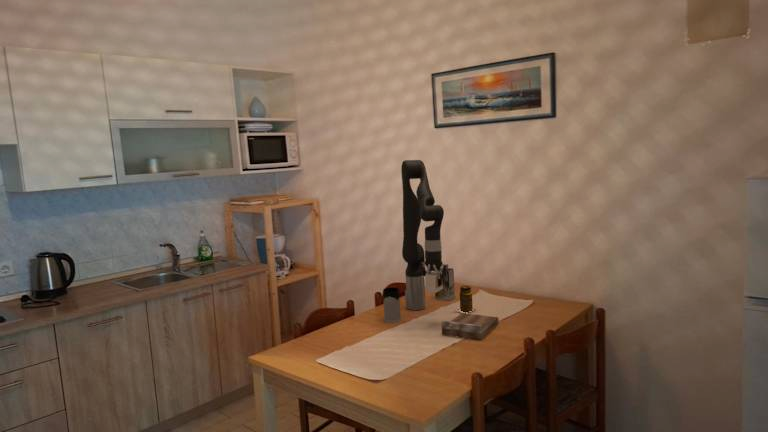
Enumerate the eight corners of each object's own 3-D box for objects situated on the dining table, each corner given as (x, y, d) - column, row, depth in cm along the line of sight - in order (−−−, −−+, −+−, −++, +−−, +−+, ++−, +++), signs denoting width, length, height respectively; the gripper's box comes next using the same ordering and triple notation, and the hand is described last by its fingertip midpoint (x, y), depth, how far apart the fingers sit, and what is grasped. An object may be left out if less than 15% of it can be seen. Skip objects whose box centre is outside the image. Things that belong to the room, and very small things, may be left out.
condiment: (476, 310, 259) (475, 286, 257) (465, 314, 253) (464, 290, 251) (464, 307, 264) (463, 284, 262) (453, 311, 258) (452, 288, 256)
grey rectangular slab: (441, 334, 228) (441, 321, 227) (461, 319, 247) (460, 306, 246) (481, 340, 218) (480, 326, 218) (498, 323, 237) (498, 310, 236)
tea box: (425, 292, 238) (425, 275, 237) (433, 287, 245) (432, 271, 244) (435, 293, 235) (434, 276, 234) (443, 288, 242) (442, 272, 241)
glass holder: (381, 322, 248) (379, 292, 246) (388, 313, 262) (386, 284, 260) (399, 323, 246) (397, 292, 244) (405, 313, 260) (403, 284, 258)
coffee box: (455, 297, 281) (454, 268, 279) (450, 300, 276) (448, 271, 274) (440, 295, 286) (438, 267, 284) (434, 299, 281) (433, 269, 279)
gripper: (415, 249, 238) (416, 286, 240) (443, 251, 231) (445, 289, 233) (422, 246, 244) (424, 282, 247) (451, 248, 237) (452, 285, 239)
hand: (434, 285), depth 240 cm, fingers closed on tea box, 5 cm apart
